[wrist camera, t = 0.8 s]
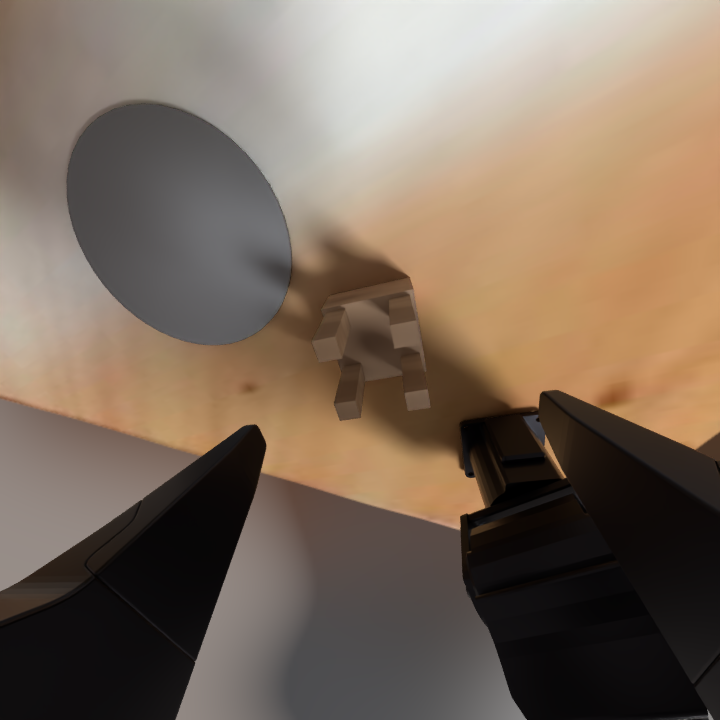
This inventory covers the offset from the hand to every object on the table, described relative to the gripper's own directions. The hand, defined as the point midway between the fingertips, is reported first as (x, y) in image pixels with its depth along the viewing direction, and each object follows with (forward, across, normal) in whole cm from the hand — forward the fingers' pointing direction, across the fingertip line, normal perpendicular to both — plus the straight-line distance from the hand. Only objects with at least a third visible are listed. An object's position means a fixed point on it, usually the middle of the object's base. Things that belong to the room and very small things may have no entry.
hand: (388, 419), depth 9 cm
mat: (+12, +12, -6) cm, 18 cm away
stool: (+12, +1, +1) cm, 12 cm away
